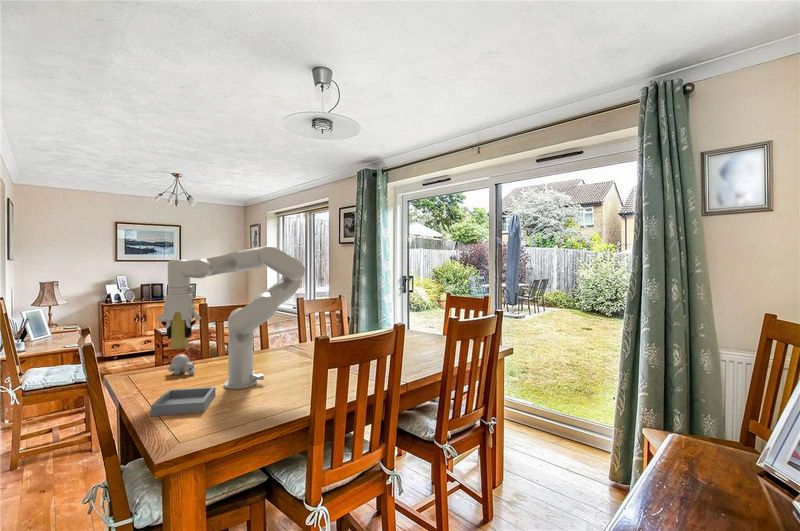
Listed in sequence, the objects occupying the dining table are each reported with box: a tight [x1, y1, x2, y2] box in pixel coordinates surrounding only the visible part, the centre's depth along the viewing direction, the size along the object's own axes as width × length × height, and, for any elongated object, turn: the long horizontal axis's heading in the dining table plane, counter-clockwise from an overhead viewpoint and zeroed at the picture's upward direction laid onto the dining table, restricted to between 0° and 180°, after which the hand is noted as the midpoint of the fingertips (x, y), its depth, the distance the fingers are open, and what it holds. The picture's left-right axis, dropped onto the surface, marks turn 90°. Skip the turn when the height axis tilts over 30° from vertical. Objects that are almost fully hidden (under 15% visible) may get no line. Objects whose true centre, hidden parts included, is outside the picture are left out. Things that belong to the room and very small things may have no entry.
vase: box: [169, 312, 189, 350], centre depth 149 cm, size 6×6×14 cm
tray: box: [150, 386, 216, 417], centre depth 136 cm, size 16×16×4 cm
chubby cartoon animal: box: [167, 353, 196, 376], centre depth 173 cm, size 7×12×8 cm, turn 75°
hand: (179, 337), depth 149 cm, fingers closed on vase, 5 cm apart
